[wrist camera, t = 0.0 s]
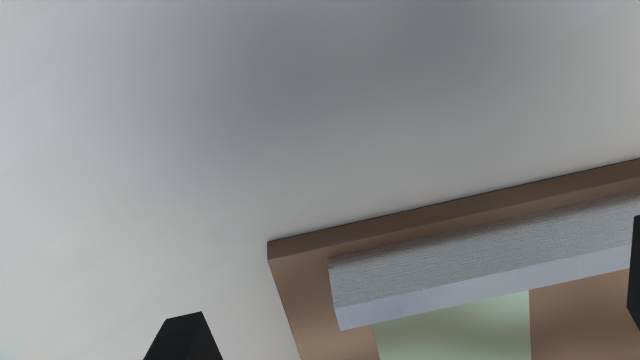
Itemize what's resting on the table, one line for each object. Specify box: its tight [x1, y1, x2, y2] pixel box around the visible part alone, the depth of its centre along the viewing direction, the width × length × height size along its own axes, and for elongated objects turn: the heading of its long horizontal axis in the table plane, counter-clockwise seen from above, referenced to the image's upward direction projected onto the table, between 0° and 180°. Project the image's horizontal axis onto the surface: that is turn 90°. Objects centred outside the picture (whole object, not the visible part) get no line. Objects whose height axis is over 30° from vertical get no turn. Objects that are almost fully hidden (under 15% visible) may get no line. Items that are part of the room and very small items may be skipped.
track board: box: [267, 159, 640, 360], centre depth 25 cm, size 16×26×1 cm, turn 102°
